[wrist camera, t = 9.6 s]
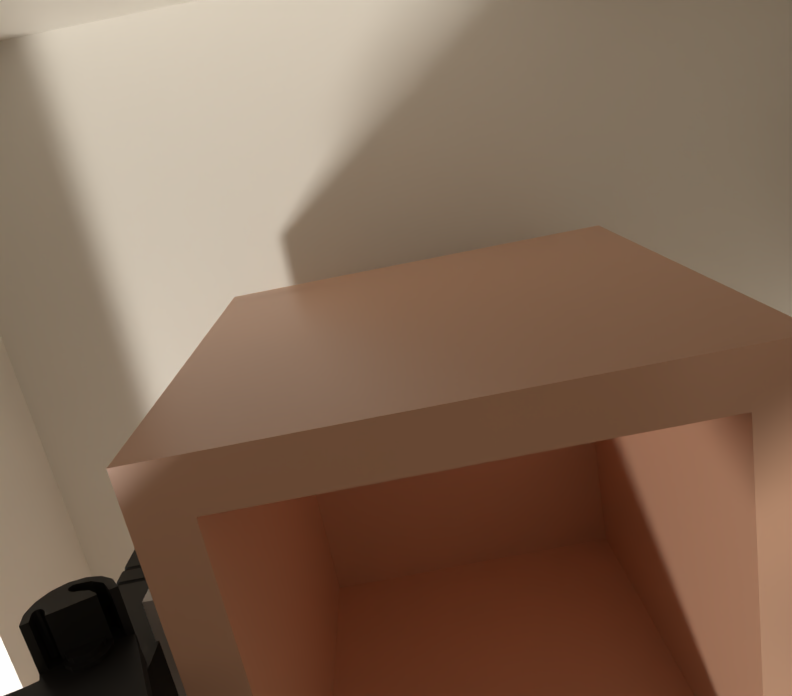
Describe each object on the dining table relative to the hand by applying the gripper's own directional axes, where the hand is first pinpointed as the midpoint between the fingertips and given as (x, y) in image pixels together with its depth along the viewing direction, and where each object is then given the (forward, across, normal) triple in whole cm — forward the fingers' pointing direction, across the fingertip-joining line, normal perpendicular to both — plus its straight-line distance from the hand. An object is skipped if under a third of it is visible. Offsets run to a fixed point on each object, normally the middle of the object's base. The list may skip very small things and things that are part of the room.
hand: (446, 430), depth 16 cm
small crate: (0, 0, 0) cm, 0 cm away
